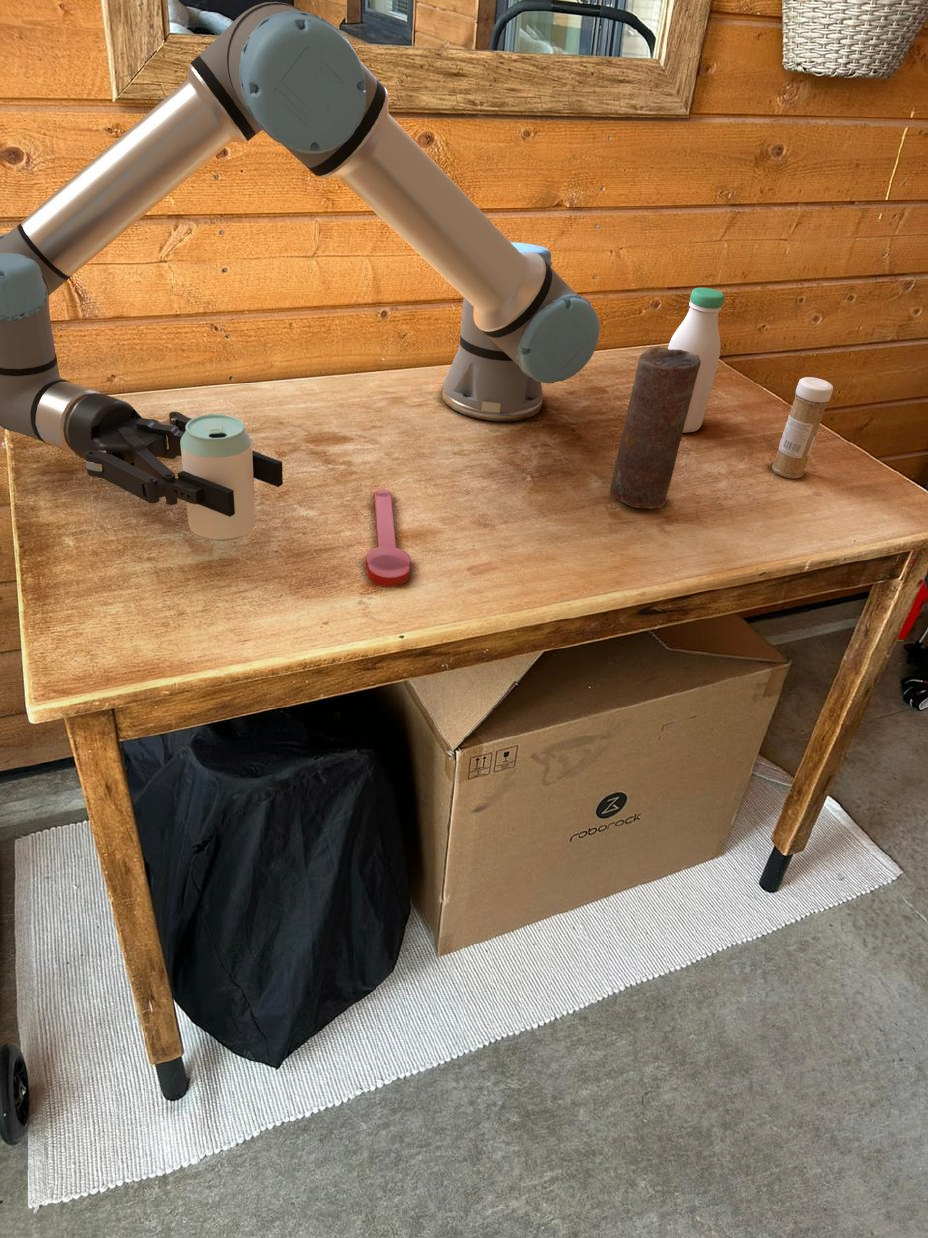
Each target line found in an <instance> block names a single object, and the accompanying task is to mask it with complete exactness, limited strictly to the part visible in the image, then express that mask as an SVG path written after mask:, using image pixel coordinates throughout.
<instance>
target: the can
mask: <svg viewBox="0 0 928 1238" xmlns="http://www.w3.org/2000/svg"><path fill="white" fill-rule="evenodd" d="M185 428H186V431H185V433H184V434H183V436H182V438H181V441H180V444H181V455H182V457H181V464H182V471H185V472H188V473H190V474H192V475H195V476H198V477H200V478H203V479H206V480H208V481H211V482H213V483H216V484H219V485H221V486H224V487H226V488H229V489H232V490H234V505H235V514H234V515H233V516H231V517H229V516H226V515H224V514H221V513H219V512H216V511H214V510H211V509H209V508H206V507H204V506H201V505H199V504H191V503H188V502H186V501H185V506H186V513H187V515H186V516H187V525H188V528H189V529H190V530H191V532H193V534H195V535H197V536H199V537H201V538H204V539H206V540H209V541H213V542H214V541H215V542H226V541H233V540H236V539H239V538H241V537H243V536H245V535H247V534H248V533H249V532H251V531H252V530H253V529H254V528H255V526H256V523H257V522H256V503H255V502H256V501H255V483H254V481H255V478H253V458H252V450H253V441H252V438H251V435H250V434H249V433H248V432H247V430H246V429H245V428H246V427H245V423H244V422H243V421H242V420H241V419H239V418H237V417H236V416H232V415H228V414H221V413H207V414H203V415H198V416H196V417H193V418H191V420H190V421H189V422H188V423H187V424H186V427H185Z"/></svg>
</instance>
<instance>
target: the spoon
mask: <svg viewBox="0 0 928 1238" xmlns="http://www.w3.org/2000/svg"><path fill="white" fill-rule="evenodd" d="M373 500H374V502H373V503H374V514H375V515H374V516H375V531H376V546H377V547H374V548H372V549H370V550H369V551H368V552H367V553H366V555H365V558H364V560H365V561H364V568H365V570H366V572H367V573H366V574H367V578H368V579H369V580H370V581H371V582H372V583H374V584H376V585H379V586H380V587H387V588H388V587H389V588H391V587H393V588H394V587H398V586H402V585H403V584H405V583H406V582H408V580H409V579H410V573H411V567H412V566H411V565H412V558H411V556H410V554H409V553H408V552H407V551H405V550H403V549H401V548H398V547H397V543H396V542H397V541H396V532H395V524H394V521H395V520H394V511H393V510H394V509H393V501H392V500H393V499H392V492H391V490H389V489H385V488H379V489H376V490H374V494H373Z"/></svg>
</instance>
